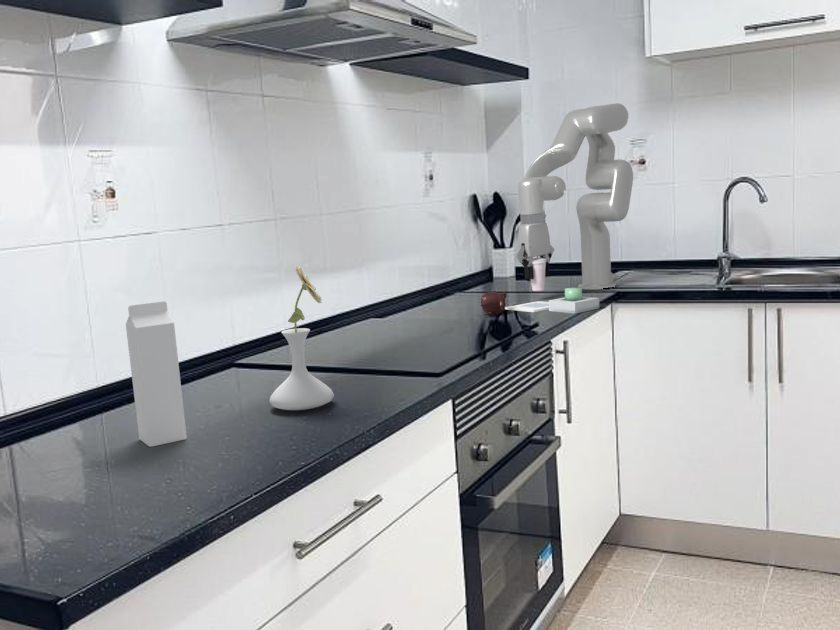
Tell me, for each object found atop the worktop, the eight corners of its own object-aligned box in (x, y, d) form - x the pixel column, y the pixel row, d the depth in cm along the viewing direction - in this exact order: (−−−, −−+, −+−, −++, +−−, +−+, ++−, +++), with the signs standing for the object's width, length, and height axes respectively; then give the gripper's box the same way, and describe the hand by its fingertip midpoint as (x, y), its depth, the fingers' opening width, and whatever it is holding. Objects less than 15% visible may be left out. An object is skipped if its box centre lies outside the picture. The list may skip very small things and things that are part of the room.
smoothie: (542, 291, 260) (539, 246, 257) (524, 291, 264) (520, 247, 261) (552, 288, 265) (549, 243, 262) (534, 288, 269) (531, 244, 266)
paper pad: (538, 303, 259) (538, 300, 259) (567, 305, 249) (567, 303, 249) (505, 309, 250) (504, 307, 250) (534, 312, 241) (533, 309, 241)
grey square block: (572, 306, 248) (572, 296, 247) (599, 308, 240) (599, 298, 239) (548, 310, 242) (548, 300, 241) (575, 313, 234) (574, 302, 234)
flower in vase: (320, 416, 143) (307, 269, 140) (259, 415, 146) (245, 271, 143) (347, 396, 156) (336, 261, 152) (290, 396, 159) (278, 264, 155)
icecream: (496, 296, 233) (517, 293, 245) (472, 289, 236) (495, 287, 249) (490, 320, 234) (512, 316, 247) (467, 313, 237) (490, 309, 250)
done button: (573, 299, 244) (572, 287, 243) (585, 300, 240) (585, 287, 240) (561, 301, 241) (561, 289, 240) (574, 302, 237) (573, 290, 237)
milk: (139, 439, 136) (122, 304, 133) (176, 431, 140) (160, 299, 137) (149, 447, 131) (132, 307, 128) (188, 439, 135) (171, 302, 131)
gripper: (543, 216, 268) (548, 272, 272) (504, 223, 258) (508, 281, 261) (561, 216, 262) (565, 273, 266) (521, 223, 252) (526, 282, 255)
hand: (537, 276), depth 263 cm, fingers closed on smoothie, 6 cm apart
